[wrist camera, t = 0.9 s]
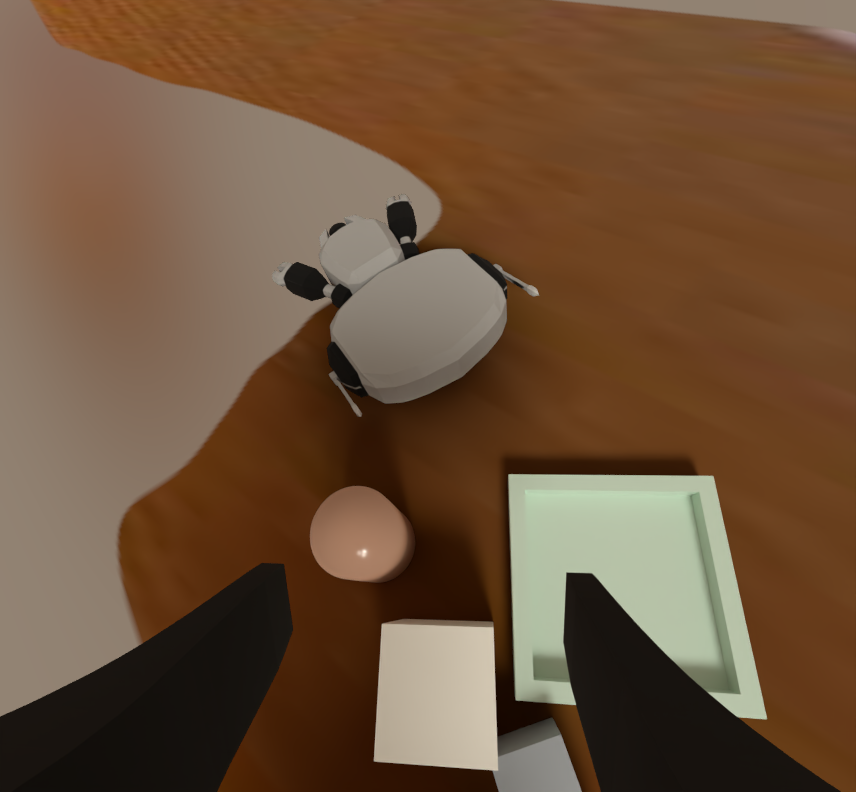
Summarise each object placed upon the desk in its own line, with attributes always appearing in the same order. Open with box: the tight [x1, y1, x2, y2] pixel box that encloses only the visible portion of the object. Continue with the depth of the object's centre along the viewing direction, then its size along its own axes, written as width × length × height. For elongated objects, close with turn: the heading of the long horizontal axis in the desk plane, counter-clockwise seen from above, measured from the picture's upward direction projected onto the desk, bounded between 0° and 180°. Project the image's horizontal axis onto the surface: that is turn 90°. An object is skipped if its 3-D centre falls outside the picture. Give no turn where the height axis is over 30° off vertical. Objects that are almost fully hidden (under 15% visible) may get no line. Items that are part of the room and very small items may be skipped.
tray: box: [508, 474, 767, 719], centre depth 21 cm, size 10×10×1 cm
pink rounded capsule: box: [310, 486, 415, 583], centre depth 22 cm, size 4×4×5 cm
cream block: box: [374, 619, 498, 771], centre depth 19 cm, size 4×4×5 cm
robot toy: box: [272, 194, 539, 417], centre depth 29 cm, size 12×4×15 cm
